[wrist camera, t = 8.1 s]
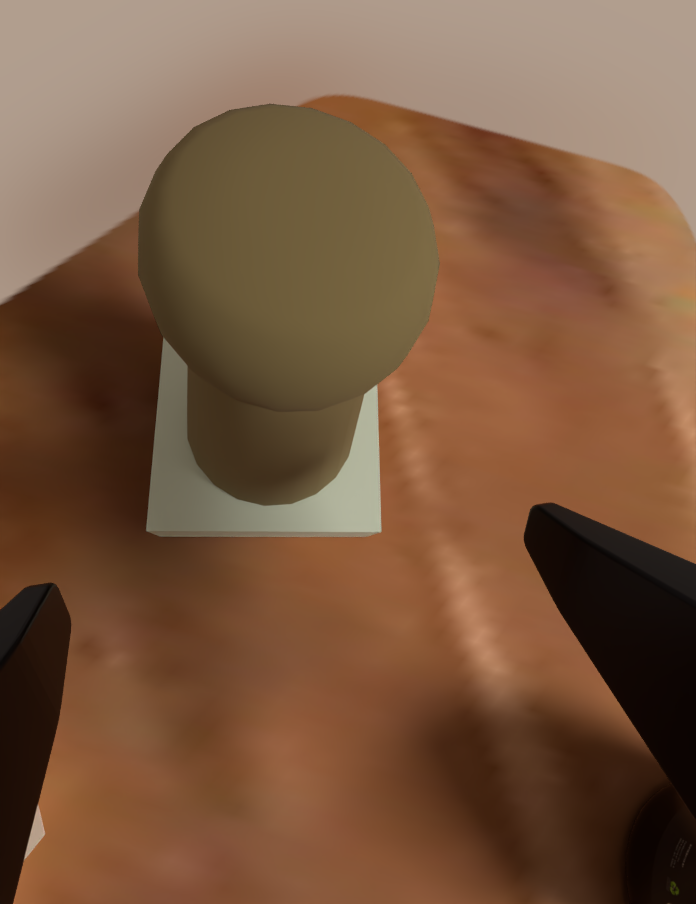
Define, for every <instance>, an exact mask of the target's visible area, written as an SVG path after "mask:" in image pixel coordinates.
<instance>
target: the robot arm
mask: <svg viewBox="0 0 696 904" xmlns="http://www.w3.org/2000/svg"><path fill="white" fill-rule="evenodd" d="M524 543H525V546H526V549H527V551H528V553H529V554H530V556H531V558H532V560H533V562H534V564H535V566H536V568H537V570H538V572H539V574H540V576H541V578H542V580H543V581H544V583H545V585H546V587H547V589H548V591H549V593H550V595H551V597H552V599H553V601H554V602H555V604H556V606H557V608H558V610H559V611H560V613H561V615H562V616H563V618H564V619H565V621H566V622H567V624H568V626H569V627H570V629H571V630H572V632H573V633H574V635H575V636H576V638H577V639H578V641H579V642H580V644H581V645H582V647H583V649H584V650H585V652H586V653H587V655H588V656H589V658H590V659H591V661H592V662H593V664H594V665H595V667H596V668H597V670H598V672H599V673H600V675H601V676H602V678H603V679H604V681H605V682H606V684H607V685H608V687H609V688H610V690H611V691H612V693H613V695H614V696H615V698H616V699H617V701H618V702H619V704H620V705H621V707H622V708H623V710H624V711H625V713H626V714H627V716H628V718H629V719H630V721H631V722H632V724H633V725H634V727H635V728H636V730H637V731H638V733H639V734H640V736H641V737H642V739H643V741H644V742H645V744H646V745H647V747H648V748H649V750H650V751H651V753H652V754H653V756H654V757H655V759H656V760H657V762H658V764H659V765H660V767H661V768H662V770H663V771H664V773H665V774H666V776H667V777H668V779H669V780H670V782H671V783H672V785H673V787H674V788H675V790H676V791H677V793H678V794H679V796H680V797H681V799H682V800H683V802H684V803H685V805H686V806H687V808H688V810H689V811H690V813H691V814H692V816H693V817H694V819H695V820H696V564H694V563H692V562H690V561H687V560H685V559H683V558H680V557H678V556H676V555H673V554H671V553H669V552H666V551H664V550H662V549H659V548H657V547H655V546H652V545H650V544H648V543H646V542H643V541H641V540H639V539H636V538H634V537H632V536H629V535H627V534H625V533H622V532H620V531H618V530H615V529H613V528H611V527H608V526H606V525H604V524H601V523H599V522H597V521H594V520H592V519H590V518H587V517H585V516H583V515H580V514H578V513H576V512H573V511H571V510H569V509H566V508H564V507H562V506H560V505H557V504H555V503H543V504H536V505H534V506H533V507H532V508H531V509H530V512H529V516H528V520H527V524H526V528H525V532H524ZM70 634H71V619H70V615H69V612H68V610H67V607H66V605H65V603H64V600H63V598H62V595H61V593H60V591H59V588H58V587H57V586H56V584H54V583H44V584H38V585H32V586H28V587H26V588H24V589H23V590H22V591H21V592H20V593H18V594H17V595H16V596H15V597H14V598H13V599H12V600H11V601H10V602H9V603H7V604H6V605H5V606H4V607H3V608H2V609H1V610H0V904H13V901H14V897H15V893H16V889H17V885H18V882H19V878H20V874H21V870H22V866H23V862H24V858H25V854H26V850H27V846H28V842H29V838H30V834H31V830H32V826H33V822H34V818H35V814H36V810H37V806H38V802H39V798H40V794H41V790H42V786H43V782H44V778H45V774H46V770H47V766H48V762H49V758H50V754H51V750H52V746H53V742H54V738H55V734H56V730H57V725H58V721H59V716H60V709H61V703H62V695H63V687H64V680H65V672H66V664H67V657H68V649H69V641H70Z"/></svg>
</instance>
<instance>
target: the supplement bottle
mask: <svg viewBox="0 0 696 904" xmlns="http://www.w3.org/2000/svg"><path fill="white" fill-rule="evenodd" d="M626 878H627V887H628V894H629V899H630V903H631V904H696V820H695V819H694V817H693V816H692V814H691V813H690V811H689V810H688V808H687V806H686V805H685V803H684V802H683V800H682V799H681V797H680V796H679V794H678V793H677V791H676V790H675V788H674V787H673V785H672V784H670V785H668V786H666V787H664V788H663V789H661V790H659V791H658V792H657V793H656V794H654V795H653V796H652V797H651V798H650V799H649V800H648V802H647V803H646V804H645V805H644V807H643V808H642V810H641V811H640V813H639V815H638V817H637V819H636V821H635V823H634V826H633V828H632V831H631V834H630V838H629V843H628V849H627V857H626Z"/></svg>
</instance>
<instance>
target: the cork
mask: <svg viewBox="0 0 696 904" xmlns="http://www.w3.org/2000/svg"><path fill="white" fill-rule="evenodd" d="M439 265H440V262H439V256H438V249H437V243H436V237H435V231H434V225H433V221H432V217H431V214H430V210H429V207H428V205H427V203H426V201H425V199H424V197H423V195H422V193H421V191H420V189H419V187H418V185H417V183H416V181H415V179H414V177H413V175H412V173H411V172H410V171H409V170H408V169H407V168H406V167H405V166H404V165H403V164H402V162H401V161H400V160H399V159H398V158H397V157H396V156H395V155H394V154H393V153H392V152H391V151H390V149H389V148H388V147H387V146H386V145H385V144H383V143H382V142H380V141H379V140H377V139H376V138H374V137H373V136H371V135H370V134H368V133H367V132H365V131H364V130H362V129H360V128H359V127H357V126H356V125H354V124H353V123H351V122H349V121H346V120H343V119H341V118H338V117H335V116H332V115H329V114H327V113H324V112H321V111H318V110H315V109H312V108H305V107H296V106H286V105H276V104H267V105H259V106H253V107H247V108H240V109H234V110H229V111H227V112H225V113H223V114H221V115H218V116H217V117H214V118H212V119H210V120H208V121H206V122H204V123H202V124H200V125H198V126H196V127H194V128H193V129H192V130H191V131H190V132H189V133H188V134H187V135H186V136H185V137H184V138H183V139H182V140H181V141H180V142H179V143H178V144H177V145H176V146H175V147H174V148H173V149H172V150H171V151H170V152H169V153H168V154H167V155H166V157H165V158H164V160H163V161H162V163H161V164H160V165H159V167H158V168H157V170H156V172H155V174H154V176H153V179H152V181H151V184H150V186H149V188H148V190H147V193H146V195H145V197H144V200H143V202H142V205H141V207H140V209H139V236H138V276H139V278H140V281H141V283H142V286H143V289H144V291H145V294H146V297H147V299H148V302H149V304H150V307H151V310H152V312H153V315H154V318H155V320H156V322H157V325H158V327H159V330H160V332H161V335H162V336H163V337H164V338H165V340H166V341H167V342H168V343H169V344H170V346H171V347H172V348H173V349H174V350H175V352H176V353H177V354H178V355H179V356H180V357H181V359H182V360H183V361H184V362H185V363H186V365H187V366H188V367H187V439H188V442H189V445H190V447H191V450H192V453H193V455H194V458H195V461H196V463H197V465H198V466H199V467H200V469H201V470H202V471H203V472H204V473H205V475H206V476H207V477H208V478H209V479H210V481H211V482H212V483H213V484H214V485H215V486H217V487H218V488H220V489H222V490H223V491H225V492H226V493H228V494H230V495H231V496H233V497H235V498H236V499H238V500H242V501H246V502H250V503H255V504H259V505H263V506H270V505H285V504H293V503H295V502H298V501H300V500H303V499H305V498H308V497H310V496H313V495H315V494H317V493H318V492H319V491H321V490H322V489H323V488H324V487H325V486H327V485H328V484H329V483H330V482H331V481H332V480H334V479H335V478H336V477H337V475H338V473H339V472H340V470H341V468H342V467H343V465H344V464H345V462H346V460H347V459H348V457H349V454H350V450H351V446H352V442H353V438H354V434H355V430H356V426H357V422H358V418H359V414H360V410H361V406H362V402H363V398H364V394H365V393H367V392H368V391H369V390H371V389H372V388H373V387H374V386H376V385H377V384H378V383H379V382H381V381H382V380H383V379H385V378H386V377H387V376H388V375H390V374H391V373H392V372H393V371H395V370H396V369H397V368H398V367H399V366H400V364H401V363H402V362H403V360H404V359H405V358H406V356H407V355H408V353H409V352H410V350H411V348H412V347H413V345H414V343H415V342H416V340H417V339H418V337H419V335H420V334H421V332H422V330H423V329H424V327H425V326H426V324H427V322H428V320H429V316H430V311H431V306H432V302H433V296H434V291H435V286H436V281H437V275H438V270H439Z"/></svg>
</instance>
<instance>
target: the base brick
mask: <svg viewBox="0 0 696 904" xmlns="http://www.w3.org/2000/svg"><path fill="white" fill-rule="evenodd" d="M187 367H188V366H187V365H186V363H185V362H184V361H183V360H182V359H181V357H180V356H179V355H178V354H177V353H176V352H175V350H174V349H173V348H172V347H171V346H170V344H169V343H168V342H167V341H166V340H165V338H163V349H162V360H161V371H160V382H159V393H158V404H157V415H156V426H155V437H154V448H153V459H152V470H151V481H150V492H149V504H148V515H147V526H146V531H147V532H150V533H152V534H155V535H158V536H160V537H367V536H370V535H373V534H376V533H379V532H381V504H380V469H379V434H378V399H377V385H376V386H374V387H373V388H372V389H371V390H369V391H368V392H367V393H365V394H364V398H363V402H362V406H361V410H360V414H359V418H358V422H357V426H356V430H355V434H354V438H353V442H352V446H351V450H350V454H349V457H348V459H347V460H346V462H345V464H344V465H343V467H342V468H341V470H340V472H339V473H338V475H337V477H336V478H335V479H334V480H332V481H331V482H330V483H329V484H328V485H327V486H325V487H324V488H323V489H322V490H321V491H319V492H318V493H317V494H315V495H313V496H310V497H308V498H305V499H303V500H300V501H298V502H295V503H293V504H285V505H270V506H263V505H259V504H255V503H250V502H246V501H242V500H238V499H236V498H235V497H233V496H231V495H230V494H228V493H226V492H225V491H223V490H222V489H220V488H218V487H217V486H215V485H214V484H213V483H212V482H211V481H210V479H209V478H208V477H207V476H206V475H205V473H204V472H203V471H202V470H201V469H200V467H199V466H198V465H197V463H196V461H195V458H194V455H193V453H192V450H191V447H190V445H189V442H188V439H187Z"/></svg>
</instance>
